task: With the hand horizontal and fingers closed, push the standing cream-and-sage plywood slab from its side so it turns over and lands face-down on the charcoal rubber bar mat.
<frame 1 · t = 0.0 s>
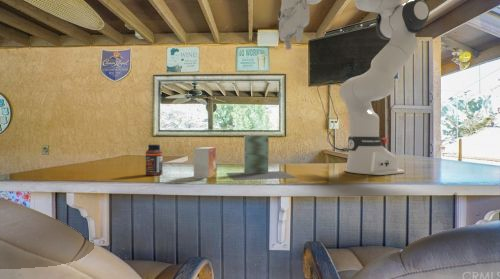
hand: (293, 45, 104), 48 cm above the counter, tool pointing down, fingers open, 8 cm apart
supplement bottle: (154, 175, 105), on the counter
small box: (205, 177, 99), on the counter
mat: (259, 176, 100), on the counter
slab: (256, 173, 105), point 1 cm above the counter, touching mat
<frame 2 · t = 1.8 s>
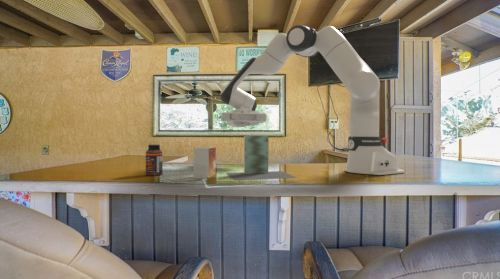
hand: (247, 116, 117), 22 cm above the counter, tool horizontal, fingers open, 7 cm apart
nothing on the counter moved.
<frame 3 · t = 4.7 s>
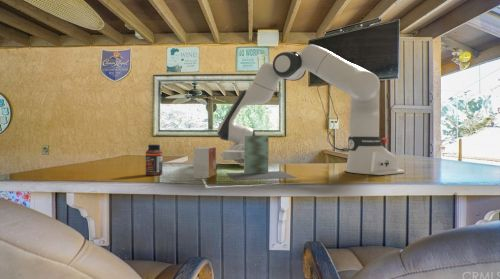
hand: (248, 156, 117), 6 cm above the counter, tool horizontal, fingers closed
nothing on the counter moved.
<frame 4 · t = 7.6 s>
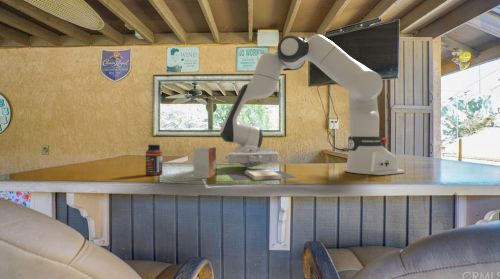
hand: (258, 159, 103), 6 cm above the counter, tool horizontal, fingers closed
slab: (256, 171, 104), point 1 cm above the counter, tilted 90°, touching mat
everything else where it was.
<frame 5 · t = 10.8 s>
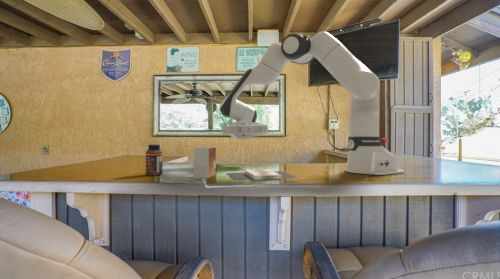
hand: (249, 129, 117), 17 cm above the counter, tool horizontal, fingers closed
nothing on the counter moved.
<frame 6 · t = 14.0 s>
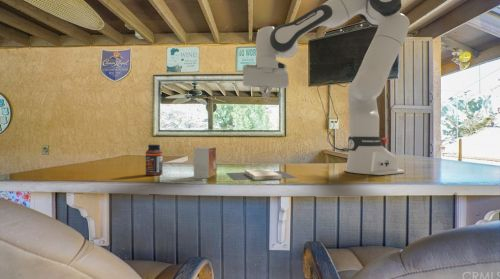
hand: (265, 97, 123), 31 cm above the counter, tool pointing down, fingers closed
nothing on the counter moved.
at the end: slab tilted 90°; slab inside the target area on the mat (4.0 cm from its centre), point 1.3 cm above the mat's base; the gripper is holding nothing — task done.
